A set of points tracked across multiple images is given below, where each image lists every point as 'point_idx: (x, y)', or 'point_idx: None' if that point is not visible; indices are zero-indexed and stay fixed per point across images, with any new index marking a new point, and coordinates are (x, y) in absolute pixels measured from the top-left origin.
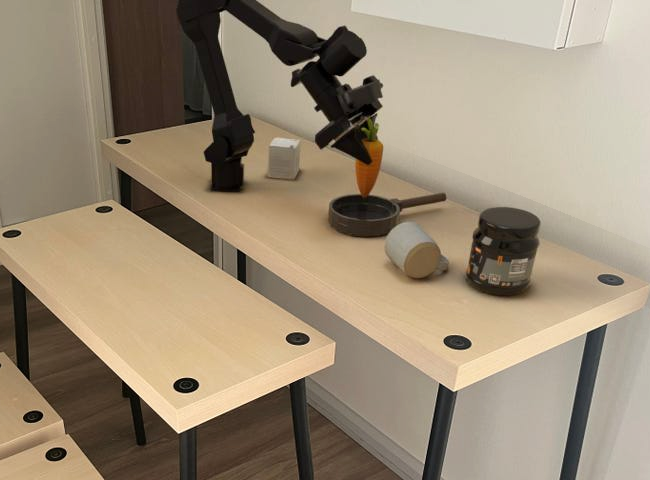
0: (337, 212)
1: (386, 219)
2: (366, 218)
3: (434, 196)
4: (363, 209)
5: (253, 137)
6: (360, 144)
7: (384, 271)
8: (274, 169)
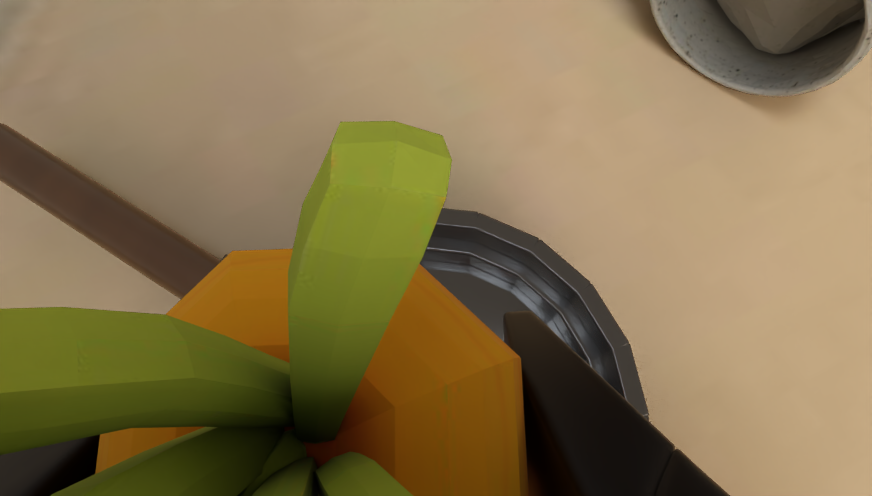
0: None
1: (506, 226)
2: None
3: (41, 160)
4: None
5: None
6: (709, 493)
7: (842, 87)
8: None
